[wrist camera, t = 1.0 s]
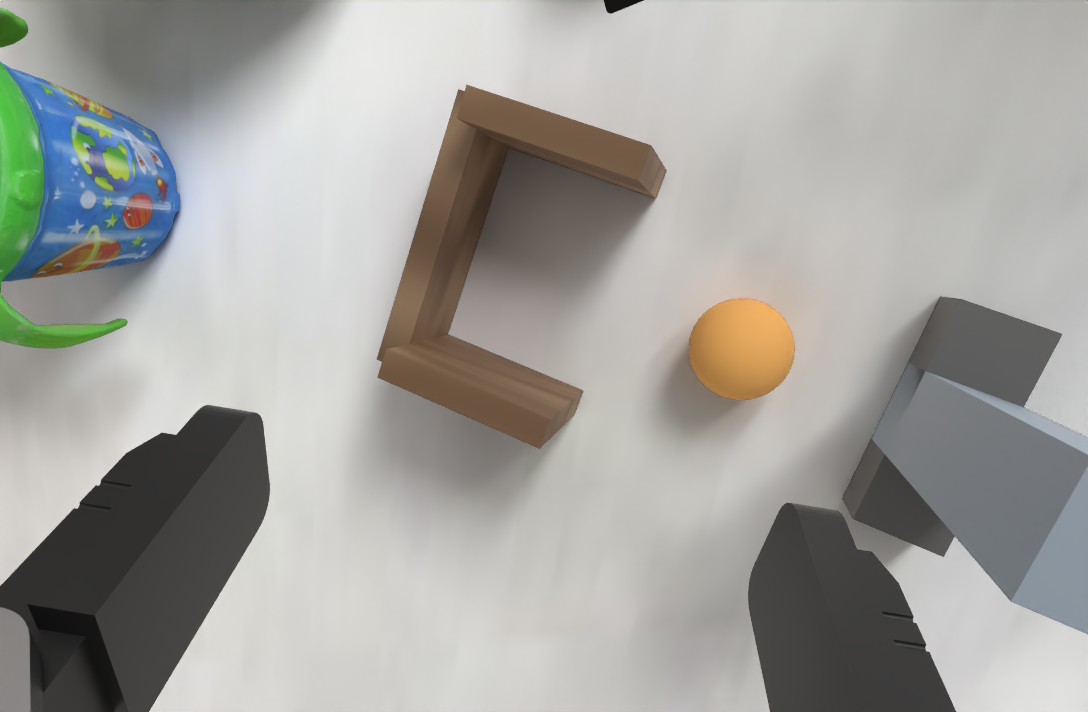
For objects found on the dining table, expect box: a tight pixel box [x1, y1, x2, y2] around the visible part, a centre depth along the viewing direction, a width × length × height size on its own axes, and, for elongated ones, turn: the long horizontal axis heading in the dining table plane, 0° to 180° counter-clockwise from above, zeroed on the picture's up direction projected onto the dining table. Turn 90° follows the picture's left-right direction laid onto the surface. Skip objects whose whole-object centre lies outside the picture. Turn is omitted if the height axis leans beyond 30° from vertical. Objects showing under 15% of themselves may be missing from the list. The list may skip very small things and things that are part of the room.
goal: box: [377, 85, 666, 449], centre depth 27 cm, size 11×8×6 cm
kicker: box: [843, 297, 1088, 634], centre depth 20 cm, size 9×3×14 cm, turn 159°
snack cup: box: [0, 8, 180, 348], centre depth 31 cm, size 16×10×10 cm
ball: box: [689, 298, 795, 400], centre depth 26 cm, size 4×4×4 cm
